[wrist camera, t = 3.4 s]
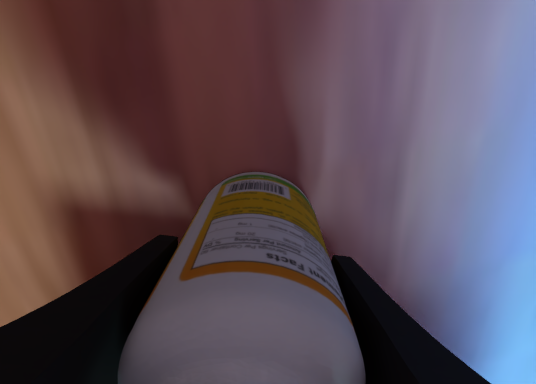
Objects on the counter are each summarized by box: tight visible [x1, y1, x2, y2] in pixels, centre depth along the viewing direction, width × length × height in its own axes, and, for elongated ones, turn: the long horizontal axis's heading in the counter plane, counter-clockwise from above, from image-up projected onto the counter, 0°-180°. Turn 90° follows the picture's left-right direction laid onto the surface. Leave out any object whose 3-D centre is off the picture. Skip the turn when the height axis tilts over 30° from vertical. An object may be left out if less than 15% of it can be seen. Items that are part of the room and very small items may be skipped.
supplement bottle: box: [118, 172, 366, 384], centre depth 7 cm, size 5×5×10 cm
